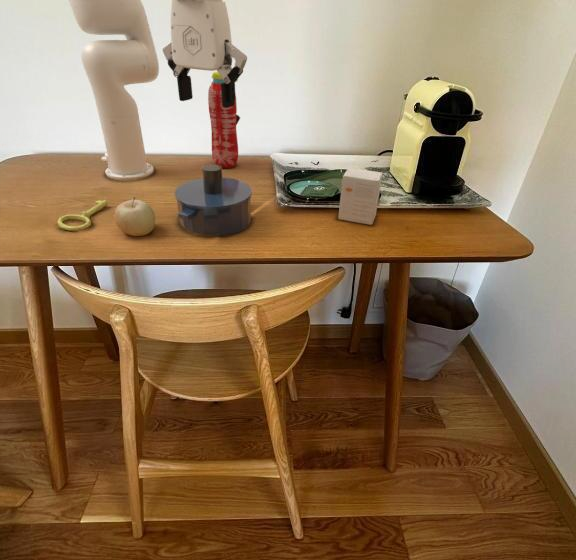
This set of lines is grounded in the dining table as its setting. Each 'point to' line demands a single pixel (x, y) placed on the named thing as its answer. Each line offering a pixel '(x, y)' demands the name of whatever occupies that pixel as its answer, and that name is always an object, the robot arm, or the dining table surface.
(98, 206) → the key
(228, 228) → the pot
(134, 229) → the fruit
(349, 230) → the dining table surface
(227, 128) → the water bottle
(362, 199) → the small box
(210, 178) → the lid
